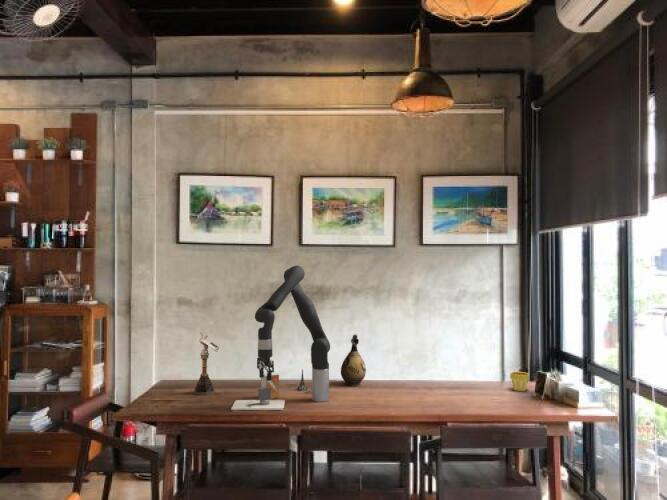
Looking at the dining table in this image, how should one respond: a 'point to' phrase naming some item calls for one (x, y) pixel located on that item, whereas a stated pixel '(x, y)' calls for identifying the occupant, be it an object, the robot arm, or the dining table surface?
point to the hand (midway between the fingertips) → (265, 379)
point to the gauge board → (258, 405)
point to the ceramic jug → (353, 366)
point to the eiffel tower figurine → (303, 385)
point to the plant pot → (519, 380)
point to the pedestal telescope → (205, 369)
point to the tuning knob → (264, 396)
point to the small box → (271, 384)
